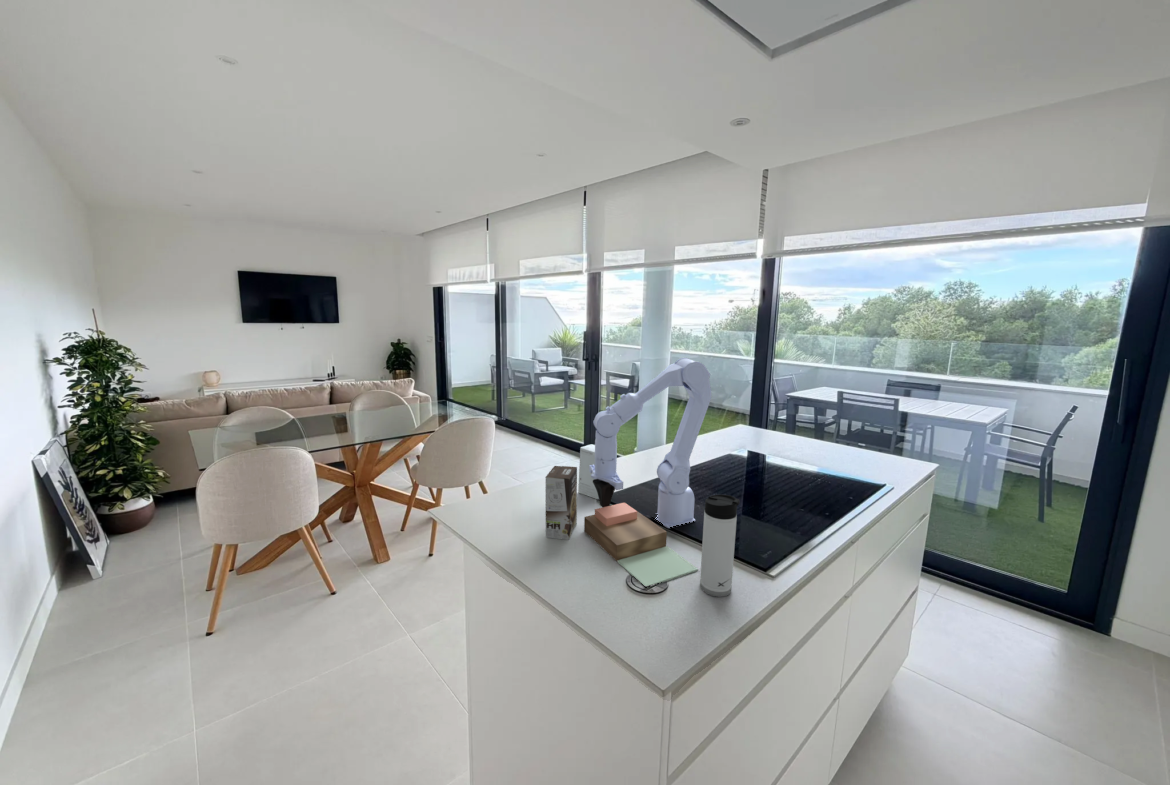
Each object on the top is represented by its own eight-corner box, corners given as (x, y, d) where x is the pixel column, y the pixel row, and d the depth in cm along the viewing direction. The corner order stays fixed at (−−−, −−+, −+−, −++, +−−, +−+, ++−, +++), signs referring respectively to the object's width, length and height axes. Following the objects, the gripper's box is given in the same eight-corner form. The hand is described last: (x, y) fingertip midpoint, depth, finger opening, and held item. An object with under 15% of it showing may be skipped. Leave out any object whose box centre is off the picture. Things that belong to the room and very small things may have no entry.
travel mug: (728, 601, 90) (735, 506, 86) (695, 590, 94) (701, 499, 90) (736, 585, 95) (743, 495, 92) (705, 575, 99) (710, 488, 95)
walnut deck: (629, 520, 124) (630, 506, 124) (666, 547, 111) (666, 531, 110) (584, 531, 118) (584, 516, 117) (616, 561, 104) (617, 545, 103)
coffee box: (569, 540, 113) (569, 478, 110) (544, 537, 115) (544, 476, 112) (577, 523, 122) (578, 466, 119) (554, 521, 123) (554, 464, 120)
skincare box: (577, 493, 142) (578, 447, 139) (590, 487, 147) (590, 443, 144) (598, 500, 137) (599, 453, 134) (611, 494, 141) (611, 448, 139)
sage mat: (666, 547, 110) (667, 546, 110) (697, 570, 101) (698, 568, 101) (617, 562, 104) (617, 560, 104) (645, 588, 94) (645, 586, 94)
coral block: (624, 509, 122) (624, 502, 121) (637, 518, 116) (637, 511, 116) (594, 516, 118) (594, 509, 117) (606, 526, 112) (606, 518, 112)
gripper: (579, 451, 124) (579, 498, 126) (606, 468, 111) (605, 520, 114) (602, 448, 127) (601, 494, 129) (630, 463, 114) (629, 514, 117)
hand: (605, 505), depth 122 cm, fingers closed
